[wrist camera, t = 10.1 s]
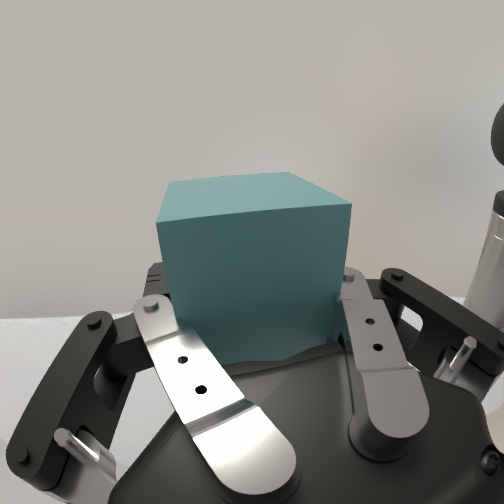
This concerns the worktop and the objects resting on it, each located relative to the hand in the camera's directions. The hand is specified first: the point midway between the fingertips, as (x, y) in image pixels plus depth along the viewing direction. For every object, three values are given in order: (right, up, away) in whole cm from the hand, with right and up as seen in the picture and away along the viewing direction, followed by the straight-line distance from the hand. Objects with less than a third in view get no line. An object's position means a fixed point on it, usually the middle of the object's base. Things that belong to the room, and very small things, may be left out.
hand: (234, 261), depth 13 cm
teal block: (+1, -7, 0) cm, 7 cm away
